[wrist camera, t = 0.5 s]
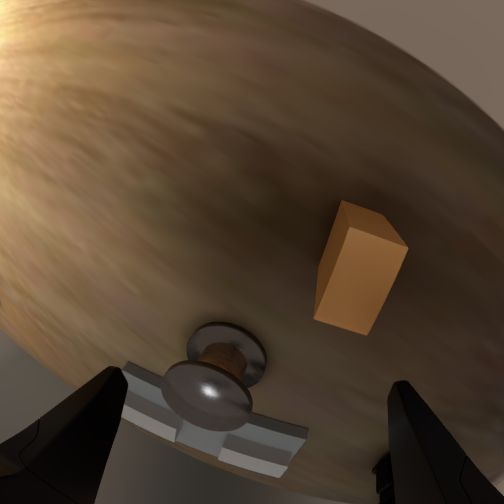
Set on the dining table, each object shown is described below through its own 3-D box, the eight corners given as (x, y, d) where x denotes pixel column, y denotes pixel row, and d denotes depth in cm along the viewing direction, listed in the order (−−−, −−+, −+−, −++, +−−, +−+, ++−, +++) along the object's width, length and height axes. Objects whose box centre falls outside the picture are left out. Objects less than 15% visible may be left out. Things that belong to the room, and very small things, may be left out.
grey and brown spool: (276, 339, 24) (261, 390, 19) (254, 393, 27) (238, 441, 21) (196, 310, 25) (163, 352, 20) (185, 367, 28) (158, 410, 22)
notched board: (307, 428, 27) (303, 455, 24) (280, 465, 31) (275, 488, 27) (128, 361, 30) (111, 381, 26) (130, 408, 33) (116, 426, 30)
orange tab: (382, 214, 19) (408, 248, 13) (357, 279, 21) (367, 335, 15) (341, 200, 20) (349, 226, 13) (318, 266, 21) (313, 319, 15)
